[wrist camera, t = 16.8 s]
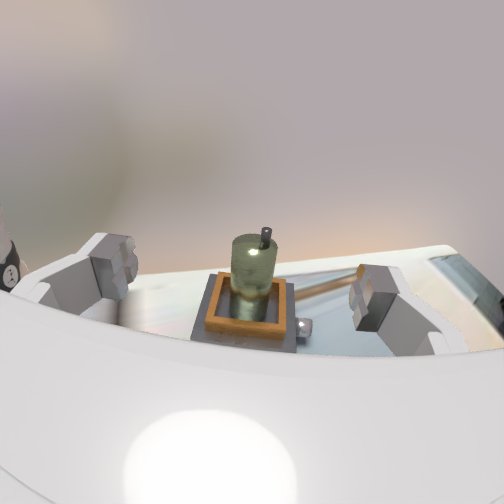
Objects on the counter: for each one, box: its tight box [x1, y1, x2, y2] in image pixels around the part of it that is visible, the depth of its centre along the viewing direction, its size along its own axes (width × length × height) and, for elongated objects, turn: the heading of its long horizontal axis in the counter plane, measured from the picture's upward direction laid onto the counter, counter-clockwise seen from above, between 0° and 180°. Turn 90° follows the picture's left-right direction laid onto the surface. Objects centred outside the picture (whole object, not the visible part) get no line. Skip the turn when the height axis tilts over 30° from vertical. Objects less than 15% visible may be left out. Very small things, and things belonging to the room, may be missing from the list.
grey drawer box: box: [190, 272, 312, 353], centre depth 43 cm, size 17×14×8 cm
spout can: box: [229, 227, 278, 322], centre depth 38 cm, size 6×6×13 cm
